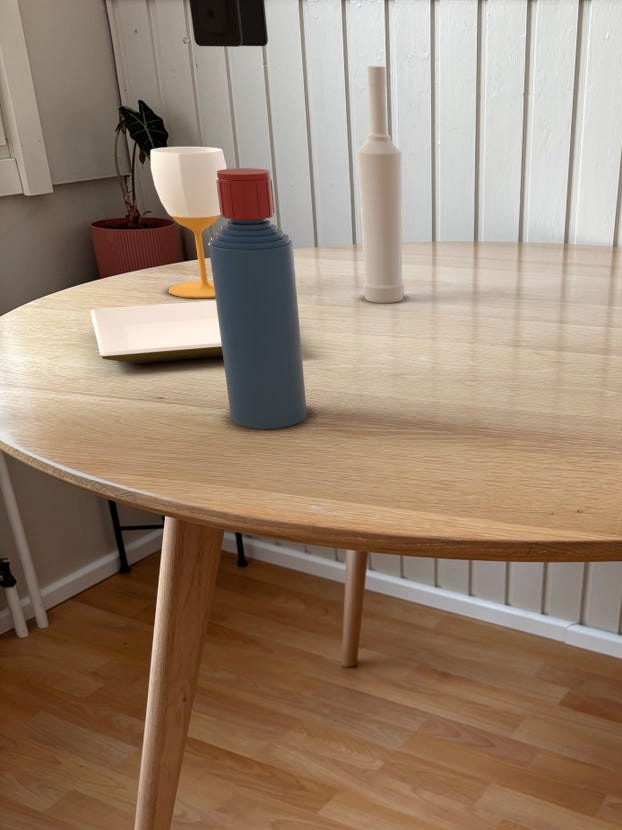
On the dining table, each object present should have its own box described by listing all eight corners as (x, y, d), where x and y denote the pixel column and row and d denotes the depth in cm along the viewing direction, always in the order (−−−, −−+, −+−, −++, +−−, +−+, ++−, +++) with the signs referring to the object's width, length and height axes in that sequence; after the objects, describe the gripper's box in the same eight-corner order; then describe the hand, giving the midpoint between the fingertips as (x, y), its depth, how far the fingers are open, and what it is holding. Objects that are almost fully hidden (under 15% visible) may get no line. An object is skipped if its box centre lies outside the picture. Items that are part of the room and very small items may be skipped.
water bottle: (240, 433, 77) (209, 185, 67) (224, 409, 82) (193, 174, 72) (315, 423, 79) (296, 182, 69) (295, 400, 84) (275, 172, 74)
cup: (247, 283, 124) (232, 147, 116) (234, 299, 117) (217, 154, 108) (178, 282, 124) (157, 145, 115) (160, 298, 116) (138, 153, 108)
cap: (227, 221, 70) (221, 175, 68) (216, 213, 73) (211, 169, 71) (279, 218, 71) (275, 173, 70) (267, 211, 74) (262, 167, 73)
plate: (93, 327, 104) (89, 308, 103) (262, 315, 110) (260, 296, 109) (104, 375, 89) (99, 353, 88) (297, 357, 96) (295, 337, 94)
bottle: (402, 293, 121) (397, 66, 107) (406, 302, 116) (401, 67, 103) (362, 294, 120) (351, 65, 106) (365, 303, 116) (354, 66, 102)
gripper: (183, -271, 64) (221, 45, 74) (67, -361, 49) (132, 46, 59) (291, -273, 63) (314, 46, 73) (205, -364, 49) (248, 47, 59)
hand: (233, 42), depth 66 cm, fingers open, 5 cm apart
